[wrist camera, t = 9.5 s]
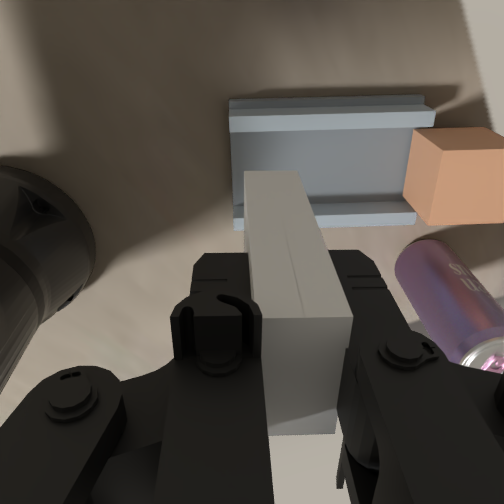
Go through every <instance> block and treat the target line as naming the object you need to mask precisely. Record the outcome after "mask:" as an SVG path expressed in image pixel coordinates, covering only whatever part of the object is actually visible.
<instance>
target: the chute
mask: <svg viewBox="0 0 504 504" xmlns="http://www.w3.org/2000/svg"><path fill="white" fill-rule="evenodd" d="M424 101H425V96H423V95H421V94H412V95H374V96H336V97H298V98H260V99H229V131H230V142H231V165H232V188H233V223H234V231H241V230H244V171H298V174H299V177H300V179H301V182H302V184H303V187H304V190H305V192H306V195H307V197H308V200H309V203H310V205H311V208H312V210H313V213H314V216H315V218H316V221H317V223H318V226H319V228H331V227H361V226H391V225H415V221H416V216H417V212H416V211H415V210H414V209H413V208H412V206H411V205H410V204H409V203H408V202H407V200H406V199H405V198H404V197H403V196H402V195H403V189H404V183H405V177H406V171H407V165H408V159H409V153H410V147H411V141H412V135H413V129H420V127H433V125H434V119H435V114H436V111H435V110H433V109H431V108H430V107H428V106H426V105H424Z"/></svg>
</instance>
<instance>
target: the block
mask: <svg viewBox="0 0 504 504" xmlns="http://www.w3.org/2000/svg"><path fill="white" fill-rule="evenodd" d="M402 196H403V197H404V198H405V199H406V200H407V202H408V203H409V204H410V205H411V206H412V208H413V209H414V210H415V211H416V212H417V213H418V215H419V216H420V217H421V218H422V219H423V220H424V222H425V223H426V224H427V225H428V226H430V225H459V224H489V223H503V222H504V137H503V136H501V135H499V134H497V133H495V132H493V131H491V130H489V129H487V128H485V127H466V128H430V129H413V135H412V141H411V147H410V153H409V159H408V165H407V171H406V177H405V183H404V189H403V195H402Z"/></svg>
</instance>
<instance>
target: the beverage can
mask: <svg viewBox="0 0 504 504" xmlns="http://www.w3.org/2000/svg"><path fill="white" fill-rule="evenodd" d="M395 276H396V278H397V280H398V282H399V283H400V285H401V287H402V289H403V290H404V292H405V294H406V296H407V297H408V299H409V301H410V302H411V304H412V306H413V308H414V309H415V311H416V313H417V315H418V316H419V318H420V320H421V321H422V323H423V325H424V326H425V328H426V330H427V332H428V333H429V335H430V337H431V339H432V340H433V342H435V343H436V344H437V345H438V347H439V348H440V349H441V350H442V351H443V352H444V353H445V355H446V357H447V358H448V360H449V361H450V362H453V363H456V364H460V365H463V366H467V367H472V368H477V369H482V370H486V371H491V372H496V373H501V374H503V371H504V309H503V308H502V307H501V306H500V305H499V304H498V302H497V301H496V300H495V299H494V298H493V297H492V295H491V294H490V293H489V292H488V291H487V290H486V289H485V287H484V286H483V285H482V284H481V283H480V282H479V280H478V279H477V278H476V277H475V276H474V275H473V274H472V272H471V271H470V270H469V269H468V268H467V267H466V265H465V264H464V263H463V262H462V261H461V260H460V258H459V257H458V256H457V255H456V254H455V253H454V252H453V250H452V249H451V248H450V247H449V246H448V245H447V244H445V243H444V242H442V241H439V240H433V239H426V240H420V241H417V242H414V243H412V244H410V245H409V246H407V247H406V248H405V249H404V250H403V251H402V252H401V253H400V255H399V257H398V259H397V261H396V264H395Z"/></svg>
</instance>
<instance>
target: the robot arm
mask: <svg viewBox="0 0 504 504" xmlns="http://www.w3.org/2000/svg"><path fill="white" fill-rule="evenodd" d="M95 254H96V253H95V242H94V237H93V233H92V231H91V228H90V226H89V223H88V222H87V220H86V218H85V216H84V215H83V213H82V212H81V210H80V209H79V208H78V206H77V205H76V204H75V203H74V202H73V201H72V200H71V199H70V198H69V197H68V196H67V195H66V194H65V193H64V192H62V191H61V190H60V189H59V188H57V187H56V186H55V185H53V184H51V183H50V182H48V181H46V180H45V179H43V178H41V177H39V176H37V175H34V174H32V173H29V172H27V171H24V170H20V169H16V168H12V167H6V166H0V394H1V392H2V390H3V388H4V387H5V385H6V383H7V381H8V380H9V378H10V376H11V374H12V372H13V371H14V369H15V367H16V365H17V364H18V362H19V360H20V358H21V357H22V355H23V353H24V351H25V349H26V348H27V346H28V344H29V342H30V341H31V339H32V337H33V335H34V334H35V332H36V330H37V329H38V327H39V325H41V324H42V323H43V322H45V321H46V320H48V319H49V318H50V317H52V316H53V315H54V314H55V313H56V312H58V311H60V310H61V309H63V308H64V307H66V306H67V305H68V304H70V303H71V302H72V301H73V300H74V299H75V298H76V297H77V296H78V295H79V293H80V292H81V291H82V289H83V288H84V286H85V284H86V282H87V280H88V278H89V276H90V274H91V272H92V270H93V267H94V262H95ZM170 323H171V332H172V342H173V351H174V358H173V359H172V360H171V361H170V362H169V363H168V364H166V365H165V366H163V367H161V368H160V369H158V370H156V371H154V372H151V373H148V374H146V375H143V376H139V377H136V378H132V379H128V380H125V381H121V382H120V380H119V379H118V378H117V377H116V376H115V375H114V374H113V373H112V372H111V371H109V370H106V369H103V368H101V367H98V366H76V367H72V368H69V369H65V370H61V371H59V372H57V373H55V374H53V375H51V376H49V377H47V378H45V379H44V380H42V381H41V382H40V383H39V384H38V385H37V386H36V387H34V388H33V389H32V390H31V391H30V392H29V393H28V394H27V395H26V397H25V398H24V399H23V400H22V402H21V403H20V404H19V405H18V406H17V408H16V409H15V410H14V411H13V413H12V414H11V415H10V416H9V417H8V419H7V420H6V421H5V422H4V424H3V425H2V426H1V427H0V504H274V494H273V485H272V484H273V483H272V472H271V461H270V450H269V439H268V436H274V435H309V434H335V429H336V422H337V416H338V417H339V421H340V425H341V429H342V433H343V442H342V448H341V453H340V459H339V465H338V470H337V476H336V478H337V479H336V480H337V481H336V482H337V484H336V485H337V489H342V488H343V484H344V479H345V480H346V484H347V488H348V493H349V497H350V501H351V504H504V371H503V374H501V373H496V372H491V371H486V370H482V369H477V368H472V367H467V366H463V365H460V364H456V363H453V362H450V361H449V360H448V358H447V357H446V355H445V353H444V352H443V351H442V350H441V349H440V348H439V347H438V345H437V344H436V343H435V342H433V341H432V340H430V339H428V338H427V337H425V336H424V335H422V334H420V333H417V332H415V331H412V330H411V329H410V327H409V326H408V324H407V322H406V320H405V318H404V316H403V315H402V313H401V311H400V309H399V307H398V305H397V303H396V302H395V300H394V298H393V296H392V294H391V292H390V291H389V290H387V285H386V283H385V281H384V279H383V278H381V274H380V272H379V270H378V268H377V267H376V265H375V263H374V261H373V260H371V259H370V258H369V257H367V256H366V255H365V254H363V253H362V252H361V251H359V250H328V249H327V247H326V244H325V242H324V239H323V236H322V234H321V231H320V229H319V226H318V223H317V221H316V218H315V216H314V213H313V210H312V208H311V205H310V203H309V200H308V197H307V195H306V192H305V190H304V187H303V184H302V182H301V179H300V177H299V174H298V171H244V253H204V254H203V255H202V257H201V258H200V259H199V260H198V261H197V262H196V263H195V264H194V266H193V274H192V282H191V288H190V296H188V297H186V298H185V299H184V300H182V301H181V302H180V303H179V304H177V305H176V306H175V308H174V310H173V312H172V314H171V316H170Z"/></svg>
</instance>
